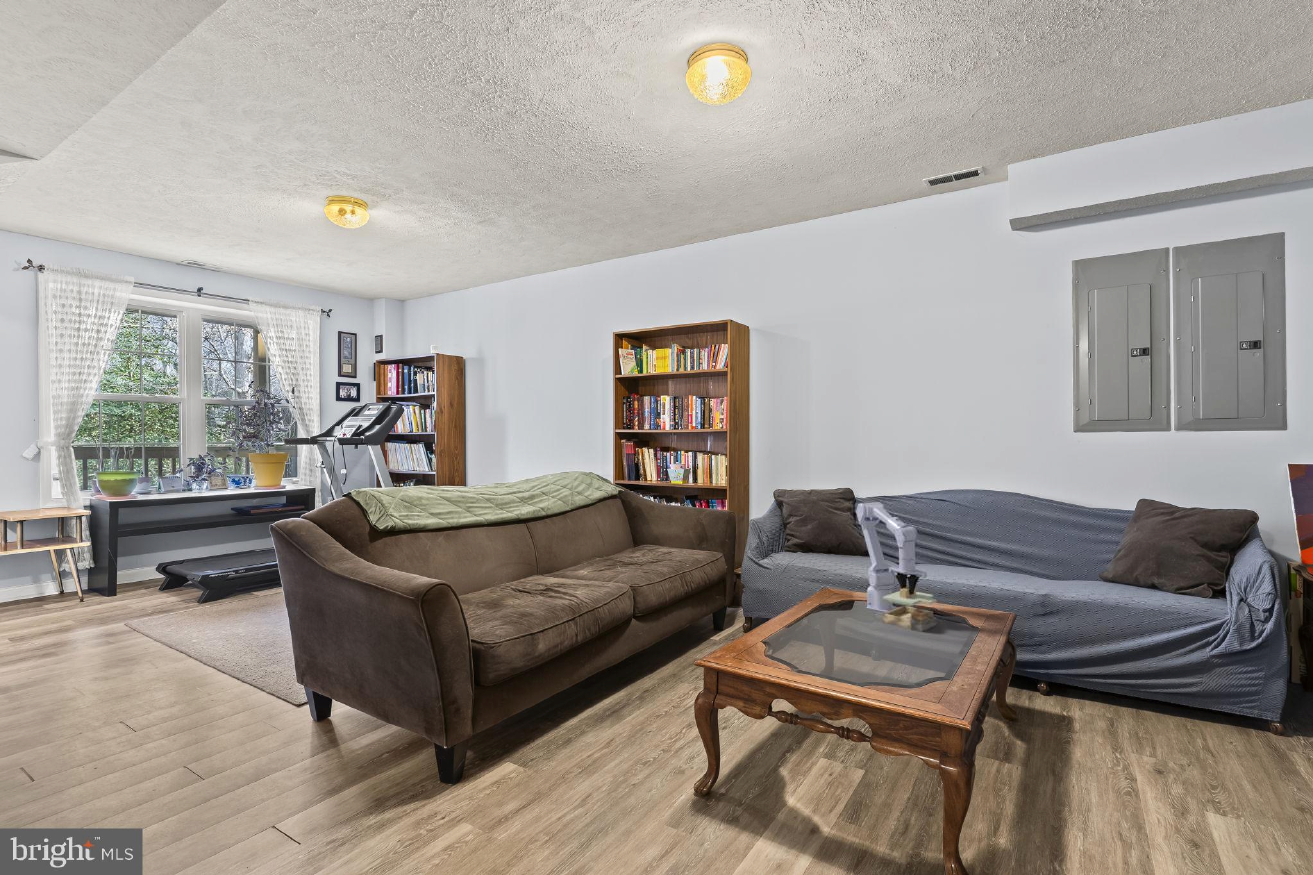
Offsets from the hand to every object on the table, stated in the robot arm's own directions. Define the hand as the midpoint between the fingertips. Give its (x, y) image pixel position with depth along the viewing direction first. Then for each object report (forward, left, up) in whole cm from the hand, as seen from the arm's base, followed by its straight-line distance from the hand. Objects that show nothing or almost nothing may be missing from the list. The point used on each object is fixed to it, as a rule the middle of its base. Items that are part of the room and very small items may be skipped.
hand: (907, 593), depth 242 cm
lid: (+2, 0, -3) cm, 3 cm away
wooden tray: (+2, -1, -10) cm, 11 cm away
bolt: (+8, -7, -6) cm, 13 cm away
